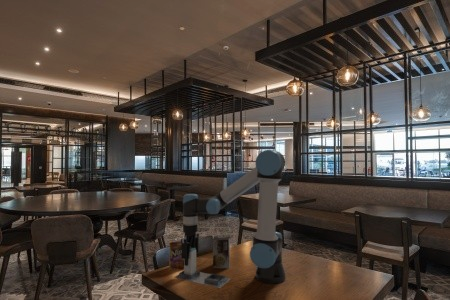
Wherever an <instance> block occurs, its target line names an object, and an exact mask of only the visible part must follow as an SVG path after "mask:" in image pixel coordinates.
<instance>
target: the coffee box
mask: <svg viewBox="0 0 450 300" xmlns="http://www.w3.org/2000/svg"><path fill="white" fill-rule="evenodd" d="M230 240H231V239H230V236H214V237H213V239H212V268H213V269H228V270H229V269H230V266H231V263H230V260H231V259H230V257H231V256H230V249H231V248H230V247H231V246H230V242H231V241H230Z"/></svg>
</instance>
